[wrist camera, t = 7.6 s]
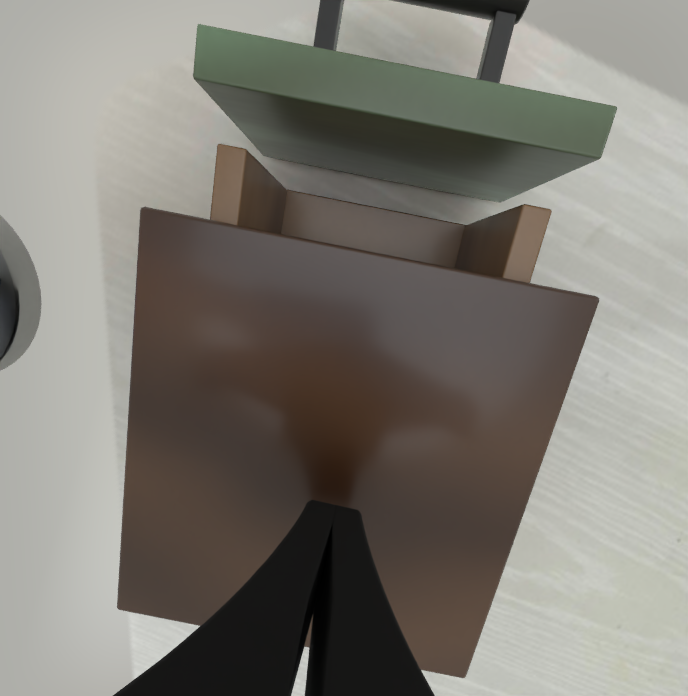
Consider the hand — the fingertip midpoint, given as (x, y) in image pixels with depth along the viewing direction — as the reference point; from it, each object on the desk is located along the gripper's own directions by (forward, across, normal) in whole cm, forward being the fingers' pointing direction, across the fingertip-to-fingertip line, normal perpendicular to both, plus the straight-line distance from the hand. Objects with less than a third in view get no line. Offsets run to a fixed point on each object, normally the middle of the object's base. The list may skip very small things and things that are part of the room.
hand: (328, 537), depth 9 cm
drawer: (+9, +1, -8) cm, 12 cm away
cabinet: (+10, +1, -1) cm, 10 cm away
